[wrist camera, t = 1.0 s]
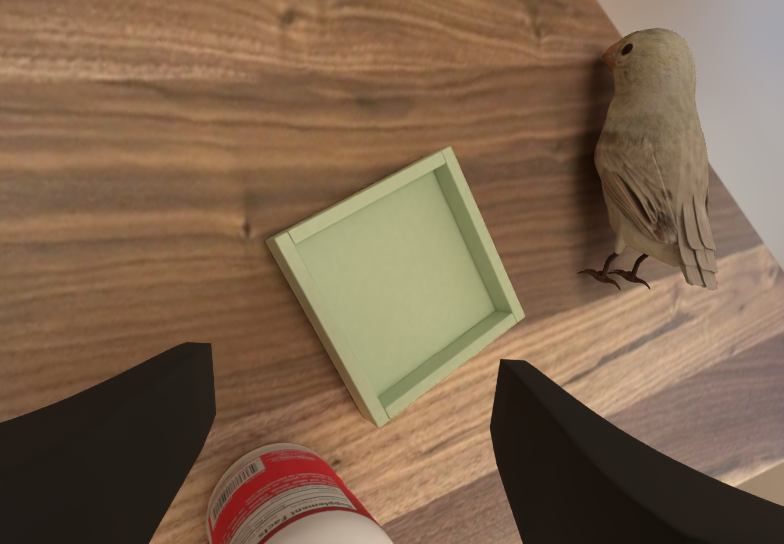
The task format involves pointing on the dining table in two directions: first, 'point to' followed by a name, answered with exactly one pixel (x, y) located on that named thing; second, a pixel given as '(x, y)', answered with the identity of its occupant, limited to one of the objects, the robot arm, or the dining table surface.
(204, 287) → the dining table surface
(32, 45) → the dining table surface
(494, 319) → the shallow green square tray
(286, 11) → the dining table surface
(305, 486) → the pill bottle
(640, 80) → the decorative bird
